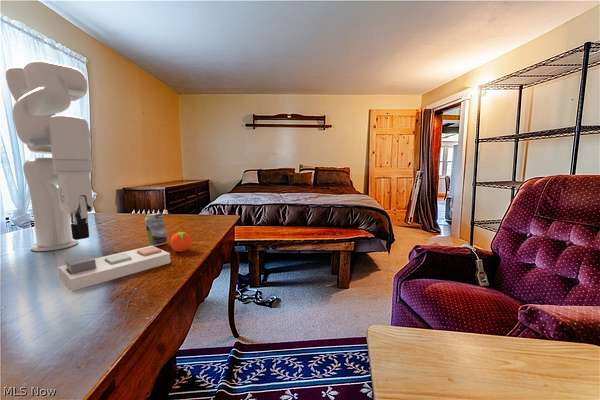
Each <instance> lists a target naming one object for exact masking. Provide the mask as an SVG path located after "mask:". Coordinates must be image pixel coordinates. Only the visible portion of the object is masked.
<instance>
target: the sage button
mask: <svg viewBox="0 0 600 400" xmlns="http://www.w3.org/2000/svg"><path fill="white" fill-rule="evenodd" d="M121 253H122V252H121ZM128 260H131V256H129V255H127V254H125V253H122V254H118V255H114V256H109V257H105V261H106V262H107V263H109V264H110V265H112V264H116V263H120V262H124V261H128Z"/></svg>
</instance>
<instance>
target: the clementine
mask: <svg viewBox="0 0 600 400" xmlns="http://www.w3.org/2000/svg"><path fill="white" fill-rule="evenodd" d="M192 244H193V239H192V236H191V235H190V234H189V233H188V232H186V231H179V232H175V233H174V234H173V235H172V236H171V238H170V247H171V248H172V250H174V251H176V252H178V253H182V252H183V253H184V252H187V251H188V250H189V249H190V248H191V247H192Z"/></svg>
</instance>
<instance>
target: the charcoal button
mask: <svg viewBox="0 0 600 400" xmlns="http://www.w3.org/2000/svg"><path fill="white" fill-rule="evenodd" d="M65 265H66V267H67V272H68V273H69V274H70V275H72V274H76V273H80V272H84V271H88V270H92V269H96V263H95V258H94V257H92V256H91V255H85V256H80V257H76V258H72V259H67V260H65Z"/></svg>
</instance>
